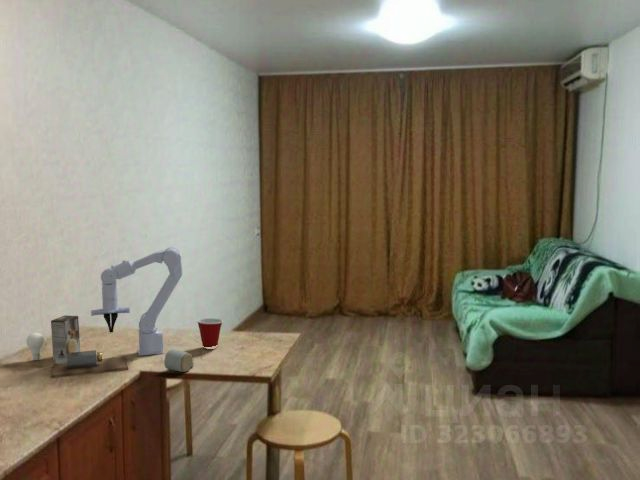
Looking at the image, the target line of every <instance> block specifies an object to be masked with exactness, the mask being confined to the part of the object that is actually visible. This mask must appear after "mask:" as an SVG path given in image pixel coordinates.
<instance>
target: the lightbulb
mask: <svg viewBox="0 0 640 480" xmlns="http://www.w3.org/2000/svg"><path fill="white" fill-rule="evenodd" d="M25 343H26V345H27V346H28V348H29V349H30V352H31V355H32V360H33V361H39V360H40V359H41V350H42V347H43V346H44V344H45V337H44V336H43V335H42V333H40V332H33V333H31V334H29V335H28V336H27V338H26V342H25Z"/></svg>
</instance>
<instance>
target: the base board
mask: <svg viewBox="0 0 640 480" xmlns="http://www.w3.org/2000/svg"><path fill="white" fill-rule="evenodd" d="M96 361H97V367H90V368H81V369H71V370H68V363H62V364H56V362H55V363H54V364H53V369H52V378H62V377H69V376H70V377H71V376H80V375H89V374H100V373H107V372H108V373H109V372H118V371H120V372H121V371H127V370H129V365H128V364H129V363H128V360H127V356H117V357H106V358H102V362H98V360H96Z"/></svg>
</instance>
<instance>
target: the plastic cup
mask: <svg viewBox="0 0 640 480" xmlns="http://www.w3.org/2000/svg"><path fill="white" fill-rule="evenodd" d="M196 322H197V325H198V328H199V333H200V334H199V335H200V338H201V339H200V340H201V343H202V344H201V345H202V347H203V346H204V347H212V346H216V345H218V344H219V339H220V335H221V334H220V333H221V328H222V325H223V322H224V320H223V319H220V318H199V319H196ZM218 346H219V345H218Z"/></svg>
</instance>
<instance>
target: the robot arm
mask: <svg viewBox="0 0 640 480" xmlns="http://www.w3.org/2000/svg"><path fill="white" fill-rule="evenodd" d="M153 263H157V264H163V263H164V264H165V265H166V267H167V269H168V272H169V274H168V276H167V278H166V279H165V280H164V282H163V284H162V286H161V288H160V290H159V291H158V292H157V294H156V296H155V298H154V300H153V301H152V303H151V304H150V306H149V307H148V309H147V310H146V312H144V313H143V314H142V315H141V316H140V319H139V322H138V328H139V329H138V347H139V348H138V349H137V353H138V356H139V357H140V356H149V355H150V356H151V355H159V354H160V355H161V354H164V339H163V330H161V329H157V327H156V322H157V319H158V317H159V316H160V314H161V311H162V310H163V308H164V307H165V305H166V303H167V302H168V299H169V298H170V297H171V295H172V293H173V292H174V289H175V288H176V286H177V284H178V283H179V281H180V279H181V278H182V276H183V268H182V267H183V266H182V257H181V255H180V251H179V250H178V249H177V248H175V247H168V248H165V249H160V250H158V251H155V252H152V253H150V254H148V255H146V256H144V257H141V258H139V259H136V260H135V261H132V260H126V259H125V260H124V259H123V260H122V261H121V263H118V264H116V265H111V266H110V267H107V268H105V269H104V270H103V271H102V272H101V274H100V280H101V294H102V295H101V298H102V308H100V309H99V308H97V309H92V310H91V311H90V315H91V317H94V316H103V318H104V320H105V322H106V325H107V327H108V332H109V333H114V328H115V325H116V321H117V318H118V316H119V314H131V313H130V311H131V309H130V307H129V306H127V307H119V304H118V300H119V299H118V298H119V297H118V286H117V280H122V279H124V278H127V277H129V276H131V275H133V274H135V273H136V271H137V270H138V269H140V268H144V267H146V266H148V265H151V264H153Z"/></svg>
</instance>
